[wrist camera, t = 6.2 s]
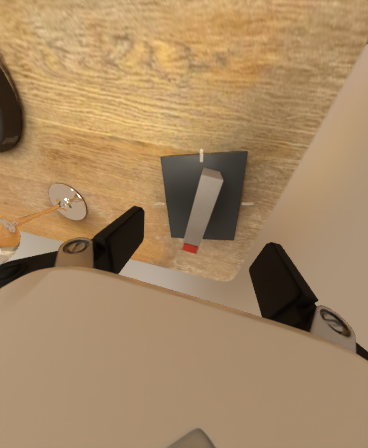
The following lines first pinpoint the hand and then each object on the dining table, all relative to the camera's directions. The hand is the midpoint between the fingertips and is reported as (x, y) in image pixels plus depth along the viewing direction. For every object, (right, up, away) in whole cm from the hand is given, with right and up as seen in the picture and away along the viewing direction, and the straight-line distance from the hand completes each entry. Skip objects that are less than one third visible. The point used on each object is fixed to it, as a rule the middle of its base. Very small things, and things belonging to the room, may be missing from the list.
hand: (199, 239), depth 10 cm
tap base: (+2, +6, +10) cm, 12 cm away
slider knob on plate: (+1, +4, +8) cm, 9 cm away
